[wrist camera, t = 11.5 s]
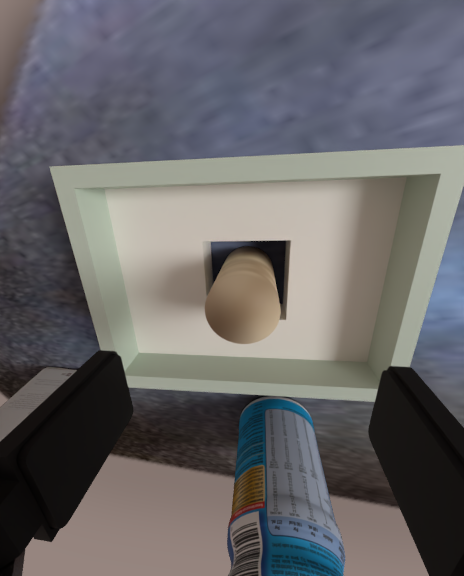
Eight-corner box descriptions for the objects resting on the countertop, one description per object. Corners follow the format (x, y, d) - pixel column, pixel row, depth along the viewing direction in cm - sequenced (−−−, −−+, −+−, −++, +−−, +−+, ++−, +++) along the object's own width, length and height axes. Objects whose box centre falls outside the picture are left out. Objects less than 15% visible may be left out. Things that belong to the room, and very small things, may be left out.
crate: (364, 352, 23) (398, 403, 17) (143, 344, 25) (111, 386, 20) (404, 160, 17) (475, 144, 11) (109, 174, 19) (49, 166, 14)
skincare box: (46, 365, 28) (-157, 529, 14) (94, 369, 28) (-70, 544, 14) (64, 416, 31) (-89, 592, 17) (108, 421, 31) (-15, 607, 17)
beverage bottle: (311, 390, 25) (452, 924, 7) (314, 445, 28) (420, 922, 10) (233, 393, 27) (173, 848, 8) (244, 445, 30) (219, 866, 11)
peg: (283, 270, 21) (297, 313, 13) (248, 302, 22) (242, 356, 15) (247, 235, 20) (241, 259, 13) (213, 270, 22) (189, 310, 14)
